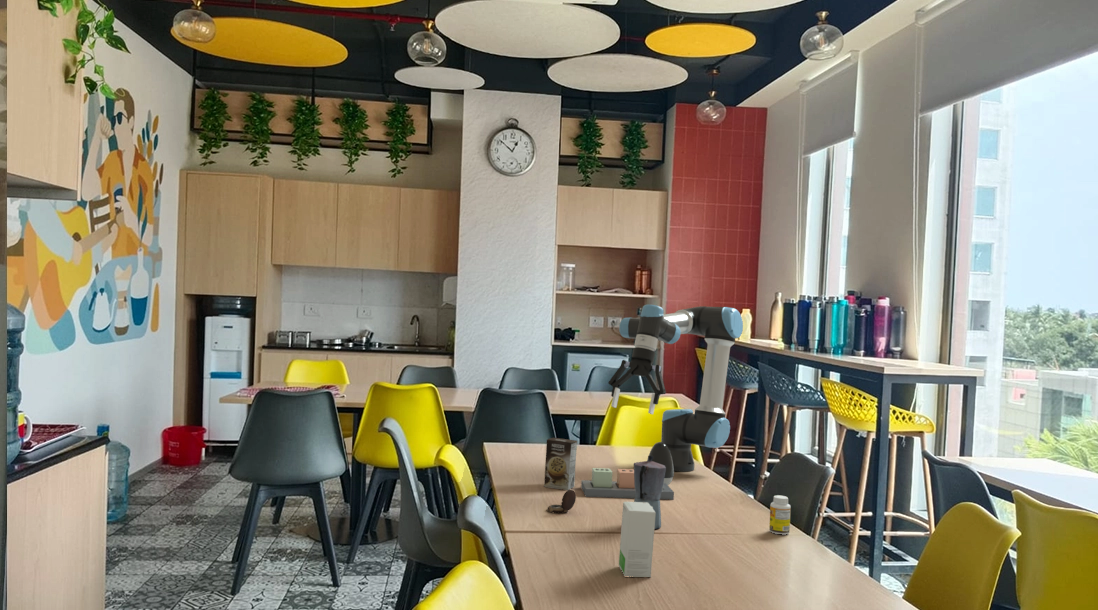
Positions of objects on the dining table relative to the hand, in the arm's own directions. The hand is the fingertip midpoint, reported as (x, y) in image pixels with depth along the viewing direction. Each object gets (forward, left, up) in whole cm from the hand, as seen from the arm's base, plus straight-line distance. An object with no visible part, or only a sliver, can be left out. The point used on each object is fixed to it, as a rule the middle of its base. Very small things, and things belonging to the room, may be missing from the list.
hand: (631, 410), depth 270 cm
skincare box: (+12, +82, -28) cm, 87 cm away
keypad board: (+1, +2, -28) cm, 28 cm away
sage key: (+9, +2, -25) cm, 27 cm away
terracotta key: (+1, +2, -25) cm, 25 cm away
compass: (+26, +29, -28) cm, 48 cm away
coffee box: (+23, -4, -28) cm, 36 cm away
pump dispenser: (-13, -13, -28) cm, 33 cm away
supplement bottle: (-36, +44, -28) cm, 63 cm away
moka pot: (+2, +42, -28) cm, 50 cm away
